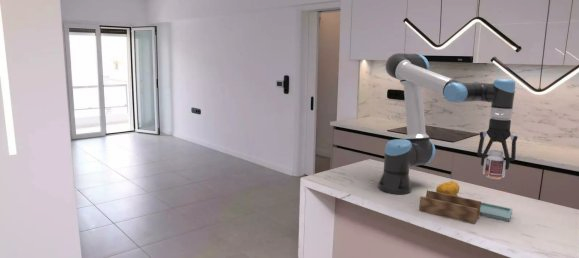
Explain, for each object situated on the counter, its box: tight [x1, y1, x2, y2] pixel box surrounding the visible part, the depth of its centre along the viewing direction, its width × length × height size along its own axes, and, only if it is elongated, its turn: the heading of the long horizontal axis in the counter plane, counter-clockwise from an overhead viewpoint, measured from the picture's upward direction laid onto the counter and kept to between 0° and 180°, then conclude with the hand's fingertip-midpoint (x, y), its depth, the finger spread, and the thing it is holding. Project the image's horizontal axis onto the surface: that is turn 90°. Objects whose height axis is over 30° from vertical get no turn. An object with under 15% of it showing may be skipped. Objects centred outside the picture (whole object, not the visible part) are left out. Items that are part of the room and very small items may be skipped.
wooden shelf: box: [418, 189, 482, 225], centre depth 164 cm, size 21×10×6 cm, turn 57°
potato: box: [435, 180, 460, 196], centre depth 182 cm, size 7×14×7 cm, turn 128°
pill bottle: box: [484, 149, 505, 180], centre depth 161 cm, size 6×6×11 cm
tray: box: [479, 201, 513, 222], centre depth 166 cm, size 13×13×2 cm
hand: (493, 175), depth 162 cm, fingers closed on pill bottle, 6 cm apart
